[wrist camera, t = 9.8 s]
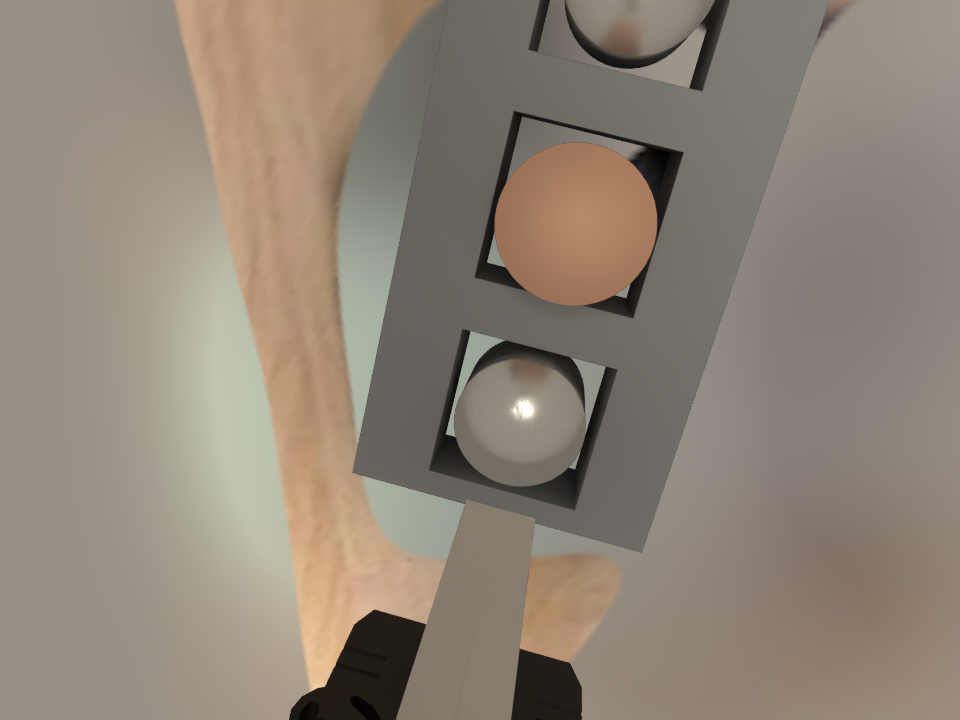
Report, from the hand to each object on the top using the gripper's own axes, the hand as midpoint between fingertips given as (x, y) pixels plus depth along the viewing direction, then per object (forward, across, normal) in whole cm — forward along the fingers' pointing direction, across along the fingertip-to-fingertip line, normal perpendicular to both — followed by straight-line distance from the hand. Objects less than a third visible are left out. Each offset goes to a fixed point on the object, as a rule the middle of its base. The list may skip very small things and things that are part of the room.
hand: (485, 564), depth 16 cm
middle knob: (+13, 0, +6) cm, 15 cm away
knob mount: (+17, 0, +6) cm, 18 cm away
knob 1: (+16, 0, -2) cm, 17 cm away
